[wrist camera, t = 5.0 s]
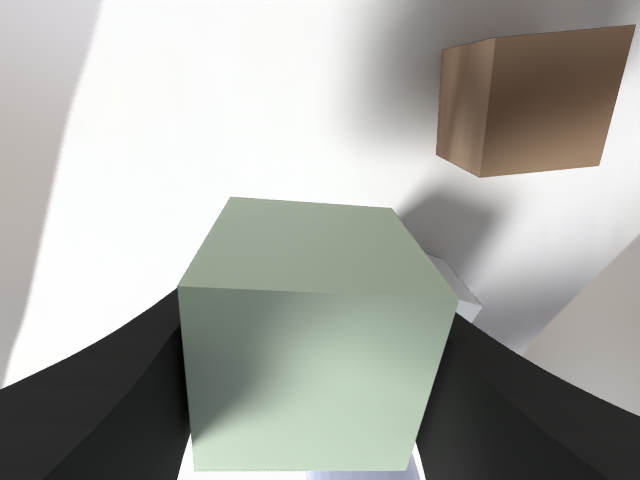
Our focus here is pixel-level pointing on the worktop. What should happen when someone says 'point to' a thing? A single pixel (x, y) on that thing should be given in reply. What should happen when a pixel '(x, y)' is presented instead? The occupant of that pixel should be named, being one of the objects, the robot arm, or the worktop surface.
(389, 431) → the sage cube
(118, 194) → the worktop surface
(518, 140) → the walnut cube
